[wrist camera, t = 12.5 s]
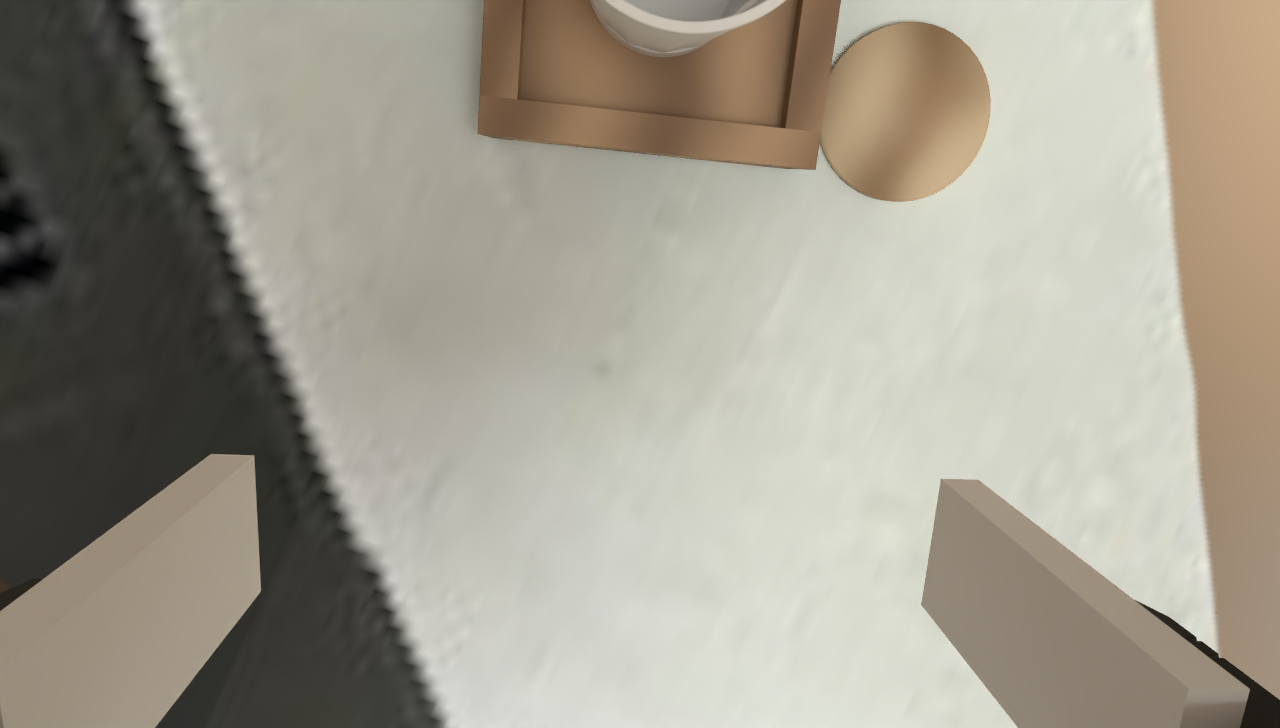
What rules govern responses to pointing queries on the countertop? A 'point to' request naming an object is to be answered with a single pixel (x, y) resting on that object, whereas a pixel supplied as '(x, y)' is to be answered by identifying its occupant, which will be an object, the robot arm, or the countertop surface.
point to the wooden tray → (659, 85)
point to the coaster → (905, 112)
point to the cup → (675, 22)
